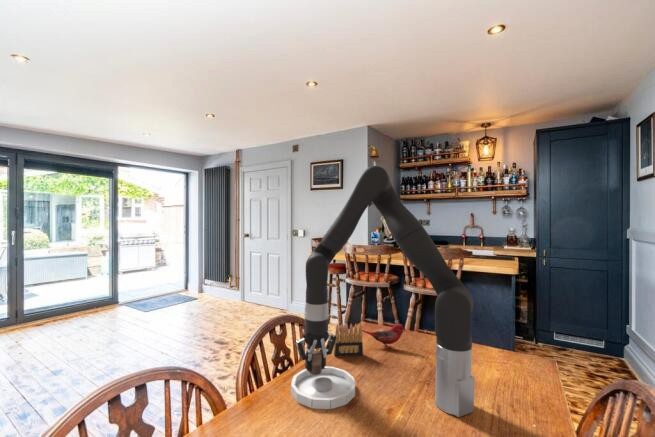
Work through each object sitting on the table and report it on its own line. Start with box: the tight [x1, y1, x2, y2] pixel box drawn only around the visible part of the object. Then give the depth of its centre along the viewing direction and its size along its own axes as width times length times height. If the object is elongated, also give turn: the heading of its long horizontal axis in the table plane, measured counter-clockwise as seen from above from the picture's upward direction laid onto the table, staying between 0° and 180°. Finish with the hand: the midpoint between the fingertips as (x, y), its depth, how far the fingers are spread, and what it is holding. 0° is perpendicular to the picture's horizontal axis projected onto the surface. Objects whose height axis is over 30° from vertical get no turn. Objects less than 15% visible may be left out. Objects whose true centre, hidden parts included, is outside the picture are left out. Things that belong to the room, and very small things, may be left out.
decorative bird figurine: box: [362, 323, 407, 349], centre depth 128 cm, size 3×18×10 cm, turn 78°
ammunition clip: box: [333, 323, 364, 358], centre depth 121 cm, size 11×2×12 cm, turn 96°
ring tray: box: [290, 365, 356, 410], centre depth 97 cm, size 19×19×2 cm
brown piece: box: [309, 349, 322, 375], centre depth 102 cm, size 4×4×6 cm
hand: (315, 369), depth 102 cm, fingers closed on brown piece, 4 cm apart
